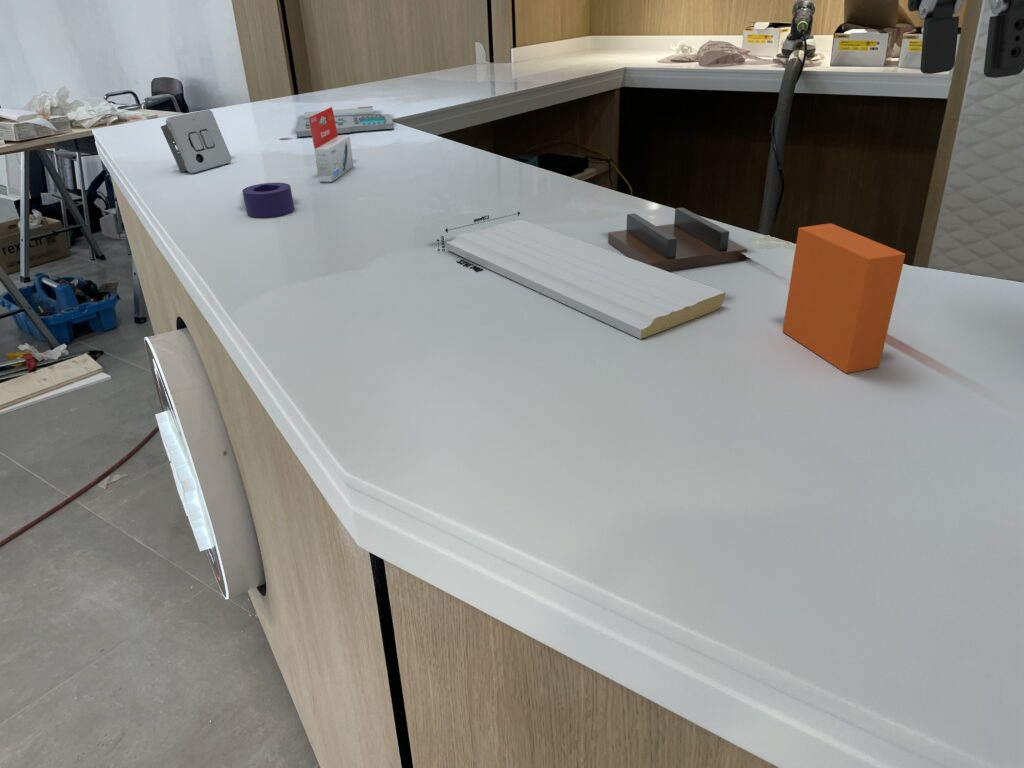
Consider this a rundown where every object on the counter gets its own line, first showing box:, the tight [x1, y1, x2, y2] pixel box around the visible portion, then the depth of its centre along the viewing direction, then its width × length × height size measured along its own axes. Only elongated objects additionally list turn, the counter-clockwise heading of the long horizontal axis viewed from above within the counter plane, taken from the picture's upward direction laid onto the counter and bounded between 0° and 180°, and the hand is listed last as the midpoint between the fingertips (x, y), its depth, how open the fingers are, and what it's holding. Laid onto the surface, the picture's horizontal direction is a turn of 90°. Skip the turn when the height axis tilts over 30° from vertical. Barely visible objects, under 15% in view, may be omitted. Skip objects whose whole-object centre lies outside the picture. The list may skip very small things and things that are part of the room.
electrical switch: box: [160, 109, 233, 174], centre depth 126 cm, size 9×5×9 cm, turn 153°
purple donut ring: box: [241, 182, 295, 219], centre depth 102 cm, size 12×6×3 cm, turn 26°
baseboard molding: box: [436, 210, 726, 340], centre depth 74 cm, size 31×3×12 cm
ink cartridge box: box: [308, 106, 354, 183], centre depth 117 cm, size 2×11×10 cm, turn 173°
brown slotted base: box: [607, 207, 748, 272], centre depth 80 cm, size 11×11×3 cm
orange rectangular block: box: [782, 222, 906, 374], centre depth 56 cm, size 3×8×9 cm, turn 17°
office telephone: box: [295, 105, 394, 138], centre depth 160 cm, size 23×3×20 cm
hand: (967, 74), depth 52 cm, fingers open, 8 cm apart
